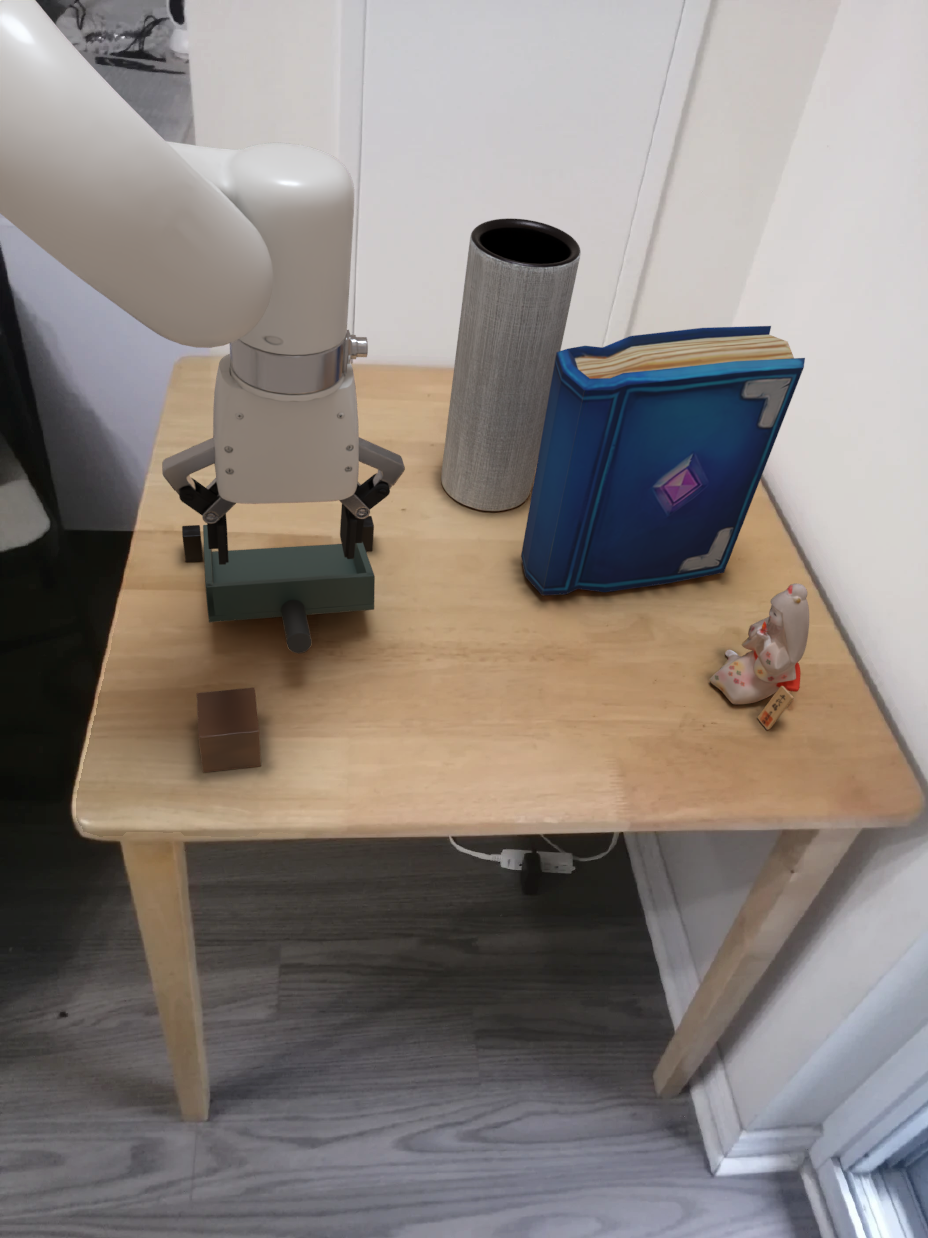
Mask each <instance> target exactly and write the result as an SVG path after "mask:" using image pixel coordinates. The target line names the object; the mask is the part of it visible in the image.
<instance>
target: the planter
mask: <svg viewBox="0 0 928 1238" xmlns="http://www.w3.org/2000/svg"><path fill="white" fill-rule="evenodd" d="M581 255H582V253H581V247H580V245H579V243H578V242H577V241H576V239H575V238H574V237H573V236H571V235H570V234H568V233H567V232H565V231H564V230H562V229H560V228H558V227H555V226H553V225H550V224H548V223H544V222H540V221H536V220H532V219H531V220H530V219H524V218H496V219H491V220H488V221H484V222H482V223H480V224H478V225H477V226H475V227H474V228H473V230H472V231H471V233H470V237H469V244H468V251H467V260H466V268H465V277H464V283H463V291H462V293H463V294H462V301H461V310H460V317H459V323H458V324H459V325H458V333H457V341H456V350H455V358H454V365H453V374H452V381H451V391H450V398H449V407H448V415H447V423H446V429H445V430H446V432H445V439H444V448H443V454H442V463H441V478H440V480H441V484H442V487H443V489H444V490H445V492H446V493H447V494H448V495H449V496H450V497H451V498H452V499H453V500H455V501H456V502H458V503H460V504H462V505H464V506H465V507H468V508H472V509H475V510H479V511H485V512H500V511H506V510H510V509H511V510H512V509H514V508H516V507H518V506H520V505H522V504H523V503H525V502H526V500H527V499H528V498H529V496H530V494H531V492H532V489H533V484H534V479H535V473H536V467H537V461H538V456H539V450H540V444H541V438H542V433H543V427H544V421H545V415H546V410H547V404H548V398H549V392H550V387H551V381H552V375H553V370H554V364H555V358H556V352H559V351H562V346H563V342H564V341H563V340H564V337H565V331H566V327H567V322H568V317H569V311H570V307H571V303H572V298H573V294H574V293H573V292H574V289H575V283H576V278H577V273H578V269H579V263H580V260H581Z"/></svg>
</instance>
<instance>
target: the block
mask: <svg viewBox="0 0 928 1238" xmlns="http://www.w3.org/2000/svg"><path fill="white" fill-rule="evenodd" d="M196 713H197V716H196V717H197V738H198V747H199V752H200V761H201V768H202V769H201V770H202V773H211V772H219V771H228V770H229V771H230V770H238V769H247V768H254V767H255V768H256V767H262V756H261V740H260V739H261V738H260V736H261V735H260V727H259V726H260V725H259V715H258V714H259V713H258V705H257V696H256V688H255V687H244V688H234V689H223V690H212V691H203V692H196Z"/></svg>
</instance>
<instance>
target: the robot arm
mask: <svg viewBox="0 0 928 1238" xmlns="http://www.w3.org/2000/svg"><path fill="white" fill-rule="evenodd" d="M354 185H355V184H354V182H353V179H352V175H351V173H350V171H349V169H348V168H347V167H346V165H345V164H344V163H343V162H342V161H340V159H338V158H337V157H335V156H334V155H332V154H331V153H329V152H327V151H324V150H321V149H318V148H315V147H311V146H308V145H304V144H299V143H298V144H297V143H290V142H268V143H259V144H254V145H253V144H252V145H250V146H247V147H244V148H240V149H238V148H237V149H236V148H223V147H214V146H206V145H198V144H197V145H196V144H189V143H182V142H175V141H167V140H165V139H164V138H163V137H162V136H161V135H160V134H159V133H158V132H157V131H156V130H155V129H154V128H153V127H152V126H151V125H150V124H149V123H148V122H147V121H146V120H145V119H144V118H143V117H142V116H141V115H140V114H139V113H138V112H137V111H136V110H135V109H134V108H133V107H132V106H131V105H130V104H129V102H127V101H126V100H125V99H124V98H123V97H122V96H121V95H120V94H119V93H118V92H117V90H115V89H114V88H113V87H112V86H111V85H110V84H109V82H107V80H105V78H104V77H103V76H102V75H101V74H100V73H99V72H98V71H97V70H96V69H95V68H94V67H93V65H92V64H91V63H90V62H89V61H88V60H87V59H86V58H85V57H84V56H83V54H81V53H80V51H79V50H78V49H77V48H76V47H75V46H74V44H73V43H72V42H71V41H70V40H69V39H68V37H66V36H65V34H64V33H63V32H62V31H61V30H60V28H59V27H58V26H57V25H56V24H55V22H54V21H53V20H52V18H51V17H50V16H49V15H48V13H47V12H46V11H45V10H44V9H43V8H42V6H41V5H40V4H39V2H37V0H0V215H2V216H3V217H4V218H5V219H6V220H7V221H9V222H10V223H11V224H12V225H13V226H14V227H16V228H17V229H18V230H19V231H21V232H22V234H24V235H25V236H26V237H27V238H29V239H30V240H32V241H33V243H35V244H36V245H38V246H39V247H40V248H41V249H42V250H44V251H45V252H46V253H47V254H49V255H50V256H51V257H52V258H53V259H54V260H56V261H57V262H58V263H60V265H62V266H63V267H65V268H66V269H67V270H69V271H70V272H71V273H73V274H74V275H75V276H77V277H78V278H79V279H80V280H82V281H83V282H84V283H86V284H87V285H88V286H90V287H91V288H92V289H94V290H95V291H97V292H98V293H99V294H101V295H102V296H103V297H105V298H107V299H108V301H110V302H112V303H113V304H115V305H116V306H117V307H118V308H119V309H121V310H123V311H124V312H126V313H127V314H128V315H129V316H131V317H132V318H134V319H135V320H136V321H138V322H139V323H140V324H141V325H143V326H145V327H146V328H148V329H149V330H151V331H152V332H154V333H155V334H156V335H158V336H160V337H162V338H164V339H166V340H168V341H171V342H173V343H176V344H179V345H182V346H185V347H192V348H196V349H197V348H200V349H201V348H202V349H212V348H218V347H223V346H226V345H228V344H229V354H228V353H227V354H225V355H224V356H223V357H222V358H221V359H220V360H219V363H218V367H217V371H216V377H215V384H214V392H213V407H212V408H213V409H212V411H213V415H212V418H213V419H212V427H213V428H212V437H211V438H209V439H207V440H204V441H202V442H200V443H198V444H195V445H192V446H191V447H188V448H187V449H184V450H182V451H180V452H177V453H175V454H172V455H170V456H169V457H165V459H163V460H162V462H161V463H162V465H161V466H162V469H161V470H162V477H163V478H164V480H166V482H167V483H168V484H169V485H170V487H171V488H172V490H173V491H174V492H176V494H177V495H178V496H179V500H180V502H182V503H184V504H185V505H186V506H188V508H191V510H193V511H195V512H196V513H197V514H199V515H201V517H202V521H203V522H204V523H206V525H207V530H208V546H209V549H212V550H217V551H218V556H219V565H225V564H226V563H229V560H228V551H229V543H228V540H229V539H228V538H229V537H228V522H227V514H228V512H230V510H231V509H232V508H234V506H235V505H236V504H243V505H253V504H255V505H256V504H257V505H258V504H259V505H261V504H262V505H264V504H266V505H267V504H296V503H297V504H299V503H301V504H302V503H303V504H305V503H324V502H325V503H327V502H328V503H329V502H338V501H339V502H340V503H341V511H340V524H339V525H340V527H339V537H340V542H341V543H340V544H342V548H343V552H344V557H347V559H354V554H355V543H362V538H363V527H364V518H367V517H368V516H370V515H371V509H373V508H374V507H376V506H377V505H378V504H379V503H381V502H382V501H384V499H386V498H387V497H388V496H389V495H390V493H391V489H392V487H393V486H395V485H396V483H398V481H399V479H400V478H401V476H402V475H403V474H404V472H405V470H406V466H405V464H404V460H403V457H402V456H401V455H400V454H398V453H396V452H393V451H392V450H389V449H386V448H384V447H382V446H380V445H378V444H375V443H374V442H371V441H369V440H367V439H365V438H362V437H360V432H359V411H358V398H357V397H358V396H357V386H356V379H355V373H354V367H353V365H352V363H351V360H357V358H368V353H369V344H368V342H369V341H368V337H366V336H357V335H356V334H351V333H350V329H348V319H349V303H350V301H349V300H350V285H351V284H350V283H351V269H352V253H353V251H352V249H353V235H354V233H353V232H354V217H355V215H354V214H355V186H354ZM360 463H362V464H364V465H366V466H369V467H371V468H373V469H375V470H377V472H376V473H374V474H372V475H371V476H370V477H369V478H368V479H366V480H365V481H364V482H363V483H360V482H359V471H360V470H359V468H360ZM212 465H214V472H215V478H214V479H213V480H212V481H211V482H210V483H209V484H208V485H207V486H204V485H203V484H202V483H200V482H199V481H197V480H196V479H194V478H193V477H192V476H190V475H192V474H194V473H196V472H198V471H201V470H203V469H205V468H208V467H210V466H212Z"/></svg>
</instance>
